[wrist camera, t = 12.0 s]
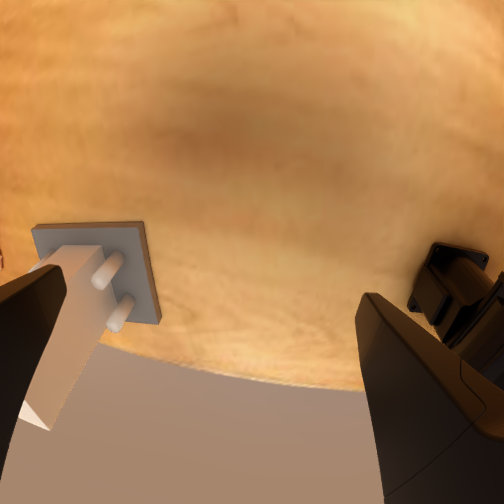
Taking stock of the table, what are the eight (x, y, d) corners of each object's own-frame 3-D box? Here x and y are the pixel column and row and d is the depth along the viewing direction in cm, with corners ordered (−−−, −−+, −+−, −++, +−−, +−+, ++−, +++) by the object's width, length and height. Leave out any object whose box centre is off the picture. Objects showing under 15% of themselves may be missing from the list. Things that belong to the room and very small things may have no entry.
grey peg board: (143, 221, 22) (117, 250, 18) (161, 317, 26) (146, 353, 22) (37, 224, 23) (6, 248, 19) (64, 306, 27) (42, 335, 23)
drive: (101, 245, 22) (0, 366, 11) (118, 307, 25) (50, 431, 13) (63, 244, 22) (-37, 350, 11) (82, 303, 25) (10, 413, 14)
